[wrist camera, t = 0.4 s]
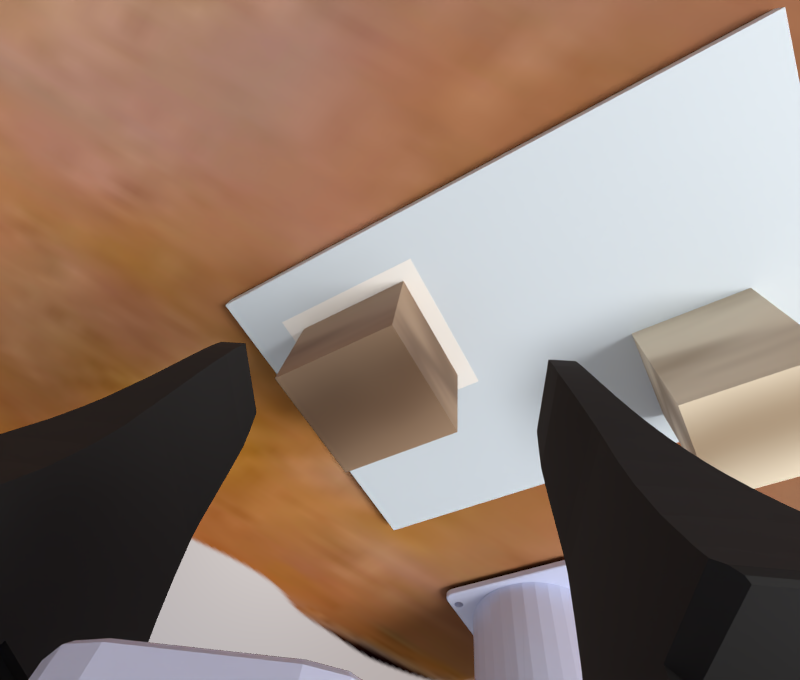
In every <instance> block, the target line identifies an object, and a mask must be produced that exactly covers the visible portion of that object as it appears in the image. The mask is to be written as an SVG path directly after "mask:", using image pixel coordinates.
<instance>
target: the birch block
mask: <svg viewBox="0 0 800 680" xmlns="http://www.w3.org/2000/svg"><path fill="white" fill-rule="evenodd" d="M632 336H633V339H634V341H635V344H636V346H637V349H638V351H639V354H640V356H641V359H642V362H643V364H644V367H645V369H646V372H647V374H648V377H649V379H650V382H651V384H652V387H653V390H654V392H655V395H656V397H657V400H658V402H659V405H660V407H661V410H662V413H663V415H664V417H665V418H666V420H667V422H668V423H669V425H670V427H671V429H672V430H673V432H674V434H675V435H676V437H677V439H678V440H679V442H680V444H681V446H682V447H683V448H684V449H686V450H688V451H689V452H691V453H692V454H694V455H695V456H697V457H699V458H700V459H702V460H703V461H705V462H706V463H708V464H710V465H711V466H713V467H715V468H717V469H718V470H720V471H722V472H723V473H725V474H727V475H729V476H731V477H732V478H734V479H736V480H738V481H740V482H742V483H744V484H746V485H747V486H749V487H751V488H753V489H755V488H758V487H762V486H766V485H769V484H773V483H777V482H781V481H784V480H788V479H792V478H795V477H799V476H800V324H798V323H797V322H796V321H794V320H793V319H792V318H790V317H789V316H788V315H786V314H785V313H784V312H782V311H781V310H780V309H778V308H777V307H776V306H774V305H773V304H772V303H770V302H769V301H768V300H767V299H765V298H764V297H763V296H761V295H760V294H759V293H757V292H756V291H755V290H753V289H752V288H749V289H746V290H744V291H741V292H739V293H736V294H733V295H731V296H728V297H726V298H723V299H720V300H718V301H715V302H713V303H710V304H707V305H705V306H702V307H700V308H697V309H694V310H692V311H689V312H687V313H684V314H681V315H679V316H676V317H674V318H671V319H668V320H666V321H663V322H661V323H658V324H655V325H653V326H650V327H648V328H645V329H642V330H640V331H637V332H635V333H632Z"/></svg>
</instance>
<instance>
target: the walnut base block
mask: <svg viewBox="0 0 800 680" xmlns="http://www.w3.org/2000/svg"><path fill="white" fill-rule="evenodd" d="M275 379H276V381H277V382H278V383H279V385H280V386H281V387H282V389H283V390H284V391H285V393H286V394H287V395H288V397H289V398H290V399H291V401H292V402H293V403H294V405H295V406H296V407H297V409H298V410H299V411H300V413H301V414H302V415H303V416H304V418H305V419H306V420H307V422H308V423H309V424H310V426H311V427H312V428H313V430H314V431H315V432H316V434H317V435H318V436H319V438H320V439H321V440H322V442H323V443H324V444H325V446H326V447H327V448H328V450H329V451H330V452H331V454H332V455H333V456H334V458H335V459H336V460H337V462H338V463H339V464H340V466H341V467H342V468H343V469H344V471H345V472H349V471H352V470H354V469H357V468H360V467H363V466H365V465H368V464H371V463H374V462H376V461H379V460H382V459H385V458H387V457H390V456H393V455H396V454H398V453H401V452H404V451H407V450H409V449H412V448H415V447H418V446H420V445H423V444H426V443H429V442H431V441H434V440H437V439H440V438H442V437H445V436H448V435H451V434H453V433H456V432H457V428H458V375H457V373H456V371H455V369H454V368H453V366H452V364H451V363H450V361H449V359H448V357H447V356H446V354H445V352H444V350H443V349H442V347H441V345H440V343H439V342H438V340H437V338H436V337H435V335H434V333H433V331H432V330H431V328H430V326H429V324H428V323H427V321H426V319H425V317H424V316H423V314H422V312H421V310H420V309H419V307H418V305H417V304H416V302H415V300H414V298H413V297H412V295H411V293H410V291H409V290H408V288H407V286H406V284H405V283H404V281H402V282H400V283H398V284H396V285H394V286H392V287H390V288H388V289H386V290H383V291H381V292H379V293H377V294H375V295H373V296H371V297H369V298H367V299H365V300H363V301H361V302H359V303H357V304H355V305H352V306H350V307H348V308H346V309H344V310H342V311H340V312H338V313H336V314H334V315H332V316H330V317H328V318H326V319H324V320H321V321H319V322H317V323H315V324H313V325H311V326H309V327H307V328H305V329H304V330H303V331H302V333H301V335H300V336H299V338H298V340H297V342H296V343H295V345H294V347H293V348H292V350H291V352H290V353H289V355H288V357H287V358H286V360H285V362H284V364H283V365H282V367H281V369H280V370H279V372H278V374H277V375H276V377H275Z"/></svg>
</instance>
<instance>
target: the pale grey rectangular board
mask: <svg viewBox="0 0 800 680" xmlns="http://www.w3.org/2000/svg"><path fill="white" fill-rule="evenodd" d="M402 281H404V283H405V284H406V286H407V288H408V290H409V291H410V293H411V295H412V297H413V298H414V300H415V302H416V304H417V305H418V307H419V309H420V310H421V312H422V314H423V316H424V317H425V319H426V321H427V323H428V324H429V326H430V328H431V330H432V331H433V333H434V335H435V337H436V338H437V340H438V342H439V343H440V345H441V347H442V349H443V350H444V352H445V354H446V356H447V357H448V359H449V361H450V363H451V364H452V366H453V368H454V369H455V371H456V373H457V375H458V428H457V432H456V433H453V434H451V435H448V436H445V437H442V438H440V439H437V440H434V441H431V442H429V443H426V444H423V445H420V446H418V447H415V448H412V449H409V450H407V451H404V452H401V453H398V454H396V455H393V456H390V457H387V458H385V459H382V460H379V461H376V462H374V463H371V464H368V465H365V466H363V467H360V468H357V469H354V470H352V471H350V472H351V474H352V475H353V476H354V478H355V479H356V480H357V482H358V483H359V484H360V486H361V487H362V488H363V490H364V491H365V492H366V494H367V495H368V496H369V498H370V499H371V500H372V502H373V503H374V504H375V506H376V507H377V508H378V510H379V511H380V512H381V514H382V515H383V516H384V518H385V519H386V520H387V522H388V523H389V524H390V526H391V527H392V528H393V530H396V529H400V528H403V527H406V526H409V525H412V524H416V523H419V522H422V521H425V520H428V519H432V518H435V517H438V516H441V515H445V514H448V513H451V512H454V511H457V510H461V509H464V508H467V507H470V506H474V505H477V504H480V503H483V502H486V501H490V500H493V499H496V498H499V497H503V496H506V495H509V494H512V493H515V492H519V491H522V490H525V489H528V488H532V487H535V486H538V485H541V484H544V483H545V482H544V478H543V474H542V470H541V463H540V455H539V447H538V438H537V426H538V420H539V414H540V408H541V402H542V396H543V390H544V384H545V378H546V372H547V365H548V360H566V361H576V362H578V363H579V364H580V365H581V366H583V367H584V368H585V369H586V370H587V371H588V372H589V373H591V374H592V375H593V376H594V377H595V378H596V379H597V380H598V381H599V382H601V383H602V384H603V385H604V386H605V387H606V388H607V389H608V390H609V391H611V392H612V393H613V394H614V395H615V396H616V397H617V398H619V399H620V400H621V401H622V402H623V403H624V404H626V405H627V406H628V407H629V408H630V409H632V410H633V411H634V412H635V413H637V414H638V415H639V416H640V417H642V418H643V419H644V420H645V421H647V422H648V423H649V424H651V425H652V426H653V427H655V428H656V429H657V430H659V431H660V432H661V433H663V434H664V435H665V436H667V437H668V438H670V439H671V440H672V441H674V442H675V443H677V442H679V440H678V439H677V437H676V435H675V434H674V432H673V430H672V429H671V427H670V425H669V423H668V422H667V420H666V418H665V417H664V415H663V413H662V410H661V407H660V405H659V402H658V400H657V397H656V395H655V392H654V390H653V387H652V384H651V382H650V379H649V377H648V374H647V372H646V369H645V367H644V364H643V362H642V359H641V356H640V354H639V351H638V349H637V346H636V344H635V341H634V339H633V336H632V333H635V332H637V331H640V330H642V329H645V328H648V327H650V326H653V325H655V324H658V323H661V322H663V321H666V320H668V319H671V318H674V317H676V316H679V315H681V314H684V313H687V312H689V311H692V310H694V309H697V308H700V307H702V306H705V305H707V304H710V303H713V302H715V301H718V300H720V299H723V298H726V297H728V296H731V295H733V294H736V293H739V292H741V291H744V290H746V289H749V288H752V289H753V290H755V291H756V292H757V293H759V294H760V295H761V296H763V297H764V298H765V299H767V300H768V301H769V302H770V303H772V304H773V305H774V306H776V307H777V308H778V309H780V310H781V311H782V312H784V313H785V314H786V315H788V316H789V317H790V318H792V319H793V320H794V321H796V322H797V323H798V324H800V83H799V78H798V72H797V67H796V62H795V57H794V52H793V46H792V41H791V36H790V31H789V25H788V20H787V15H786V10H785V7H782V8H777V9H773V10H771V11H769V12H767V13H766V14H764V15H762V16H760V17H758V18H756V19H754V20H752V21H751V22H749V23H747V24H745V25H743V26H741V27H739V28H738V29H736V30H734V31H732V32H730V33H728V34H726V35H724V36H723V37H721V38H719V39H717V40H715V41H713V42H711V43H710V44H708V45H706V46H704V47H702V48H700V49H698V50H696V51H695V52H693V53H691V54H689V55H687V56H685V57H683V58H682V59H680V60H678V61H676V62H674V63H672V64H670V65H668V66H667V67H665V68H663V69H661V70H659V71H657V72H655V73H654V74H652V75H650V76H648V77H646V78H644V79H642V80H640V81H639V82H637V83H635V84H633V85H631V86H629V87H627V88H626V89H624V90H622V91H620V92H618V93H616V94H614V95H612V96H611V97H609V98H607V99H605V100H603V101H601V102H599V103H598V104H596V105H594V106H592V107H590V108H588V109H586V110H584V111H583V112H581V113H579V114H577V115H575V116H573V117H571V118H570V119H568V120H566V121H564V122H562V123H560V124H558V125H556V126H555V127H553V128H551V129H549V130H547V131H545V132H543V133H542V134H540V135H538V136H536V137H534V138H532V139H530V140H528V141H527V142H525V143H523V144H521V145H519V146H517V147H515V148H513V149H512V150H510V151H508V152H506V153H504V154H502V155H500V156H499V157H497V158H495V159H493V160H491V161H489V162H487V163H485V164H484V165H482V166H480V167H478V168H476V169H474V170H472V171H471V172H469V173H467V174H465V175H463V176H461V177H459V178H457V179H456V180H454V181H452V182H450V183H448V184H446V185H444V186H443V187H441V188H439V189H437V190H435V191H433V192H431V193H429V194H428V195H426V196H424V197H422V198H420V199H418V200H416V201H415V202H413V203H411V204H409V205H407V206H405V207H403V208H401V209H400V210H398V211H396V212H394V213H392V214H390V215H388V216H387V217H385V218H383V219H381V220H379V221H377V222H375V223H373V224H372V225H370V226H368V227H366V228H364V229H362V230H360V231H359V232H357V233H355V234H353V235H351V236H349V237H347V238H345V239H344V240H342V241H340V242H338V243H336V244H334V245H332V246H331V247H329V248H327V249H325V250H323V251H321V252H319V253H317V254H316V255H314V256H312V257H310V258H308V259H306V260H304V261H302V262H301V263H299V264H297V265H295V266H293V267H291V268H289V269H288V270H286V271H284V272H282V273H280V274H278V275H276V276H274V277H273V278H271V279H269V280H267V281H265V282H263V283H261V284H260V285H258V286H256V287H254V288H252V289H250V290H248V291H246V292H245V293H243V294H241V295H239V296H237V297H235V298H233V299H232V300H230V301H229V302H228V303H227V304H226V305H225V306H226V307H227V308H228V310H229V311H230V312H231V314H232V315H233V316H234V318H235V319H236V320H237V322H238V323H239V324H240V326H241V327H242V328H243V330H244V331H245V332H246V334H247V335H248V336H249V338H250V339H251V340H252V342H253V343H254V344H255V346H256V347H257V348H258V350H259V351H260V352H261V354H262V355H263V356H264V358H265V359H266V360H267V362H268V363H269V364H270V366H271V367H272V368H273V370H274V371H275V372H276V374H278V372H279V370H280V369H281V367H282V365H283V364H284V362H285V360H286V358H287V357H288V355H289V353H290V352H291V350H292V348H293V347H294V345H295V343H296V342H297V340H298V338H299V336H300V335H301V333H302V331H303V330H304V329H305V328H307V327H309V326H311V325H313V324H315V323H317V322H319V321H321V320H324V319H326V318H328V317H330V316H332V315H334V314H336V313H338V312H340V311H342V310H344V309H346V308H348V307H350V306H352V305H355V304H357V303H359V302H361V301H363V300H365V299H367V298H369V297H371V296H373V295H375V294H377V293H379V292H381V291H383V290H386V289H388V288H390V287H392V286H394V285H396V284H398V283H400V282H402Z"/></svg>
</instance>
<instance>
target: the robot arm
mask: <svg viewBox="0 0 800 680" xmlns="http://www.w3.org/2000/svg"><path fill="white" fill-rule="evenodd" d="M255 415H256V407H255V401H254V394H253V388H252V382H251V376H250V370H249V363H248V357H247V351H246V345H245V343H230V342H220V343H217V344H215V345H212V346H210V347H208V348H205V349H203V350H201V351H199V352H197V353H195V354H193V355H191V356H189V357H187V358H185V359H183V360H181V361H179V362H177V363H175V364H173V365H171V366H169V367H168V368H166V369H164V370H162V371H160V372H158V373H156V374H154V375H152V376H150V377H148V378H146V379H144V380H141V381H139V382H137V383H135V384H133V385H131V386H129V387H126V388H124V389H122V390H120V391H118V392H116V393H114V394H112V395H109V396H107V397H105V398H102V399H100V400H98V401H95V402H93V403H90V404H88V405H86V406H83V407H80V408H78V409H75V410H72V411H70V412H67V413H64V414H62V415H59V416H56V417H53V418H51V419H48V420H44V421H41V422H38V423H35V424H32V425H28V426H25V427H22V428H19V429H16V430H12V431H9V432H6V433H3V434H0V680H362V679H360V678H359V677H357V676H356V675H354V674H352V673H351V672H349V671H347V670H343V669H339V668H335V667H332V666H328V665H324V664H320V663H316V662H312V661H309V660H303V659H295V658H285V657H276V656H267V655H258V654H249V653H239V652H231V651H221V650H213V649H203V648H195V647H186V646H177V645H167V644H158V643H150V642H148V641H149V639H150V636H151V633H152V631H153V628H154V625H155V623H156V620H157V618H158V615H159V613H160V610H161V608H162V605H163V603H164V601H165V598H166V596H167V593H168V591H169V588H170V586H171V583H172V581H173V579H174V576H175V574H176V572H177V569H178V567H179V565H180V563H181V560H182V558H183V556H184V554H185V551H186V549H187V547H188V545H189V542H190V540H191V538H192V536H193V534H194V532H195V530H196V529H197V527H198V525H199V523H200V521H201V519H202V517H203V516H204V514H205V512H206V511H207V509H208V507H209V505H210V504H211V502H212V500H213V499H214V497H215V495H216V493H217V492H218V490H219V488H220V486H221V485H222V483H223V481H224V480H225V478H226V476H227V474H228V473H229V471H230V469H231V467H232V466H233V464H234V462H235V460H236V459H237V457H238V455H239V453H240V451H241V449H242V448H243V446H244V443H245V441H246V438H247V436H248V433H249V431H250V428H251V426H252V423H253V420H254V418H255ZM537 438H538V447H539V455H540V463H541V470H542V474H543V478H544V482H545V486H546V489H547V493H548V497H549V501H550V505H551V509H552V512H553V516H554V520H555V524H556V527H557V531H558V535H559V539H560V543H561V546H562V550H563V554H564V559H565V560H562V561H558V562H554V563H550V564H546V565H542V566H538V567H535V568H531V569H527V570H523V571H519V572H515V573H511V574H507V575H504V576H500V577H496V578H492V579H488V580H484V581H480V582H476V583H473V584H469V585H465V586H461V587H457V588H453V589H450V590H448V592H447V601H448V602H449V604H450V605H451V606H452V608H453V609H454V610H455V612H456V613H457V614H458V616H459V617H460V618H461V620H462V621H463V622H464V624H465V625H466V626H467V628H468V629H469V630H470V632H471V633H472V634H473V636H474V673H475V680H800V511H798V510H796V509H794V508H791V507H789V506H787V505H785V504H783V503H781V502H779V501H777V500H775V499H773V498H771V497H769V496H767V495H765V494H762V493H761V492H759V491H757V490H755V489H753V488H751V487H749V486H747V485H746V484H744V483H742V482H740V481H738V480H736V479H734V478H732V477H731V476H729V475H727V474H725V473H723V472H722V471H720V470H718V469H717V468H715V467H713V466H711V465H710V464H708V463H706V462H705V461H703V460H702V459H700V458H699V457H697V456H695V455H694V454H692V453H691V452H689V451H688V450H686V449H684V448H683V447H681V446H680V445H678V444H677V443H675V442H674V441H672V440H671V439H670V438H668V437H667V436H665V435H664V434H663V433H661V432H660V431H659V430H657V429H656V428H655V427H653V426H652V425H651V424H649V423H648V422H647V421H645V420H644V419H643V418H642V417H640V416H639V415H638V414H637V413H635V412H634V411H633V410H632V409H630V408H629V407H628V406H627V405H626V404H624V403H623V402H622V401H621V400H620V399H619V398H617V397H616V396H615V395H614V394H613V393H612V392H611V391H609V390H608V389H607V388H606V387H605V386H604V385H603V384H602V383H601V382H599V381H598V380H597V379H596V378H595V377H594V376H593V375H592V374H591V373H589V372H588V371H587V370H586V369H585V368H584V367H583V366H581V365H580V364H579V363H578V362H576V361H566V360H548V365H547V372H546V378H545V384H544V390H543V396H542V402H541V408H540V414H539V420H538V426H537Z"/></svg>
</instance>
